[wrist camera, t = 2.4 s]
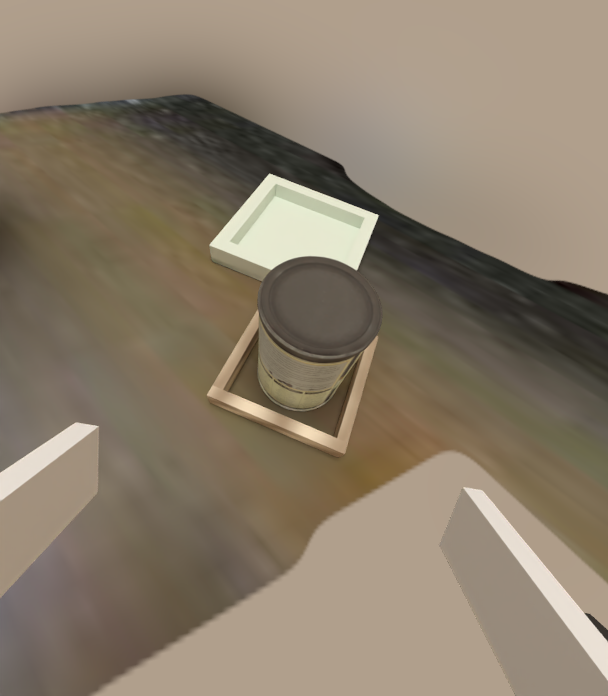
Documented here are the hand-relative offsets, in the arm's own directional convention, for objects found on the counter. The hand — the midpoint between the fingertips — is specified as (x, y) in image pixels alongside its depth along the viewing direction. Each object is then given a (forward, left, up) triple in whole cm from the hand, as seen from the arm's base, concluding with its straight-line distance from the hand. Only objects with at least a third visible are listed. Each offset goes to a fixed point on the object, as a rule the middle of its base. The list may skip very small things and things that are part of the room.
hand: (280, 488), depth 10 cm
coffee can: (-2, +14, -21) cm, 25 cm away
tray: (-10, +35, -21) cm, 42 cm away
